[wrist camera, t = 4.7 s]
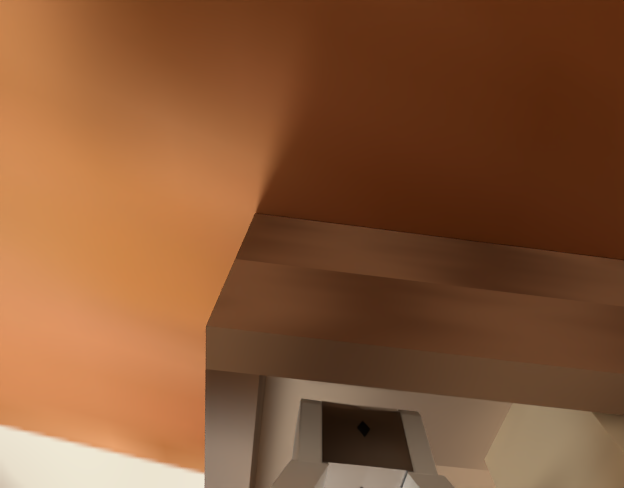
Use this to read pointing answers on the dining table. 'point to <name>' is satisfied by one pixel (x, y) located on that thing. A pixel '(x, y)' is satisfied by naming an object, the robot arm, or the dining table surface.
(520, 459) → the birch block
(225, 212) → the dining table surface
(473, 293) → the trap channel
